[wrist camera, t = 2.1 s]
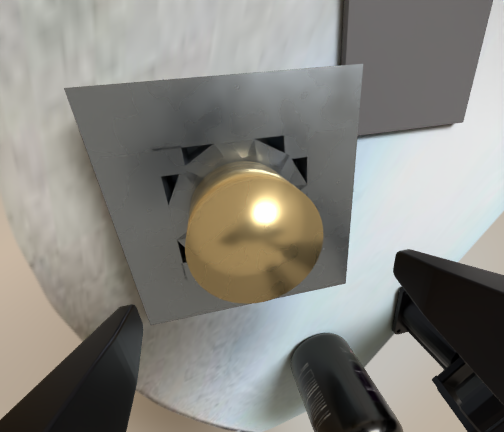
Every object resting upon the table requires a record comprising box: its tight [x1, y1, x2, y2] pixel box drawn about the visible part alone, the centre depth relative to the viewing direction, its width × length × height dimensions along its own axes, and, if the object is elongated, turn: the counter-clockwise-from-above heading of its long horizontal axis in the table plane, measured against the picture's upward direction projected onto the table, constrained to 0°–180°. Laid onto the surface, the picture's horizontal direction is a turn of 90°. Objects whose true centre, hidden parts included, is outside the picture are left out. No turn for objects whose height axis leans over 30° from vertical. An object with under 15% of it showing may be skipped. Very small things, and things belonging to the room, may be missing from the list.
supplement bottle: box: [291, 333, 403, 432], centre depth 21 cm, size 7×7×12 cm
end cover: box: [185, 161, 323, 304], centre depth 14 cm, size 6×6×8 cm
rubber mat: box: [341, 0, 493, 136], centre depth 16 cm, size 12×10×1 cm
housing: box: [64, 64, 363, 325], centre depth 16 cm, size 14×14×4 cm
